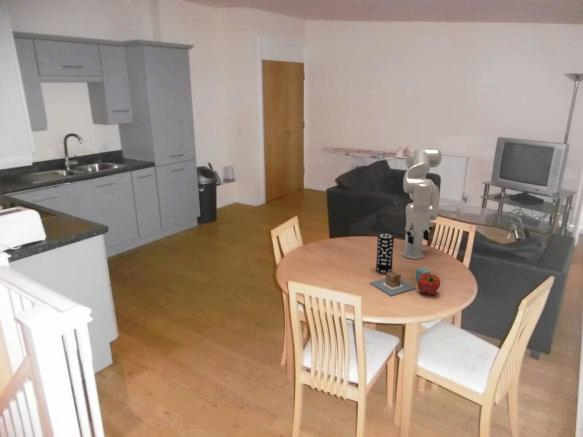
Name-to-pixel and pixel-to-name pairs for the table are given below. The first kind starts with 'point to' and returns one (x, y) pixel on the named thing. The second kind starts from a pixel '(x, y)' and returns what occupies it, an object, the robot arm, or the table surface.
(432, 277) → the vegetable
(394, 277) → the walnut block
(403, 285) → the slate mat
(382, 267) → the white-spotted black cylinder
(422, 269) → the teal block
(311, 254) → the table surface
